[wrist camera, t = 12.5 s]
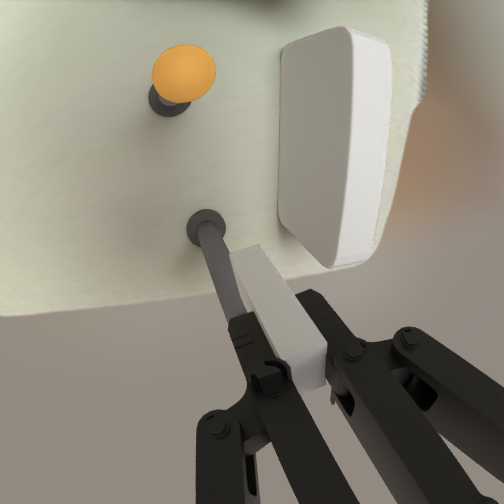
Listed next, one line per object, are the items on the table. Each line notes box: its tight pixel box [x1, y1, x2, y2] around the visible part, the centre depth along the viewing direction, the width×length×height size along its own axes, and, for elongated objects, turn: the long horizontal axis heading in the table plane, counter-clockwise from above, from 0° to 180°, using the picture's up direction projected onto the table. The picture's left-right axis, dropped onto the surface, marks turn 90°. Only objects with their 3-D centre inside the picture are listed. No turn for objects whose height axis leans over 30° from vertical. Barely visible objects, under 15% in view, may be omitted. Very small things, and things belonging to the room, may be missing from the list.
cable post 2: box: [187, 210, 248, 325], centre depth 34 cm, size 6×6×24 cm
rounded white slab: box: [278, 26, 392, 269], centre depth 34 cm, size 29×8×18 cm, turn 0°
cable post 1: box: [149, 44, 216, 116], centre depth 23 cm, size 6×6×24 cm
